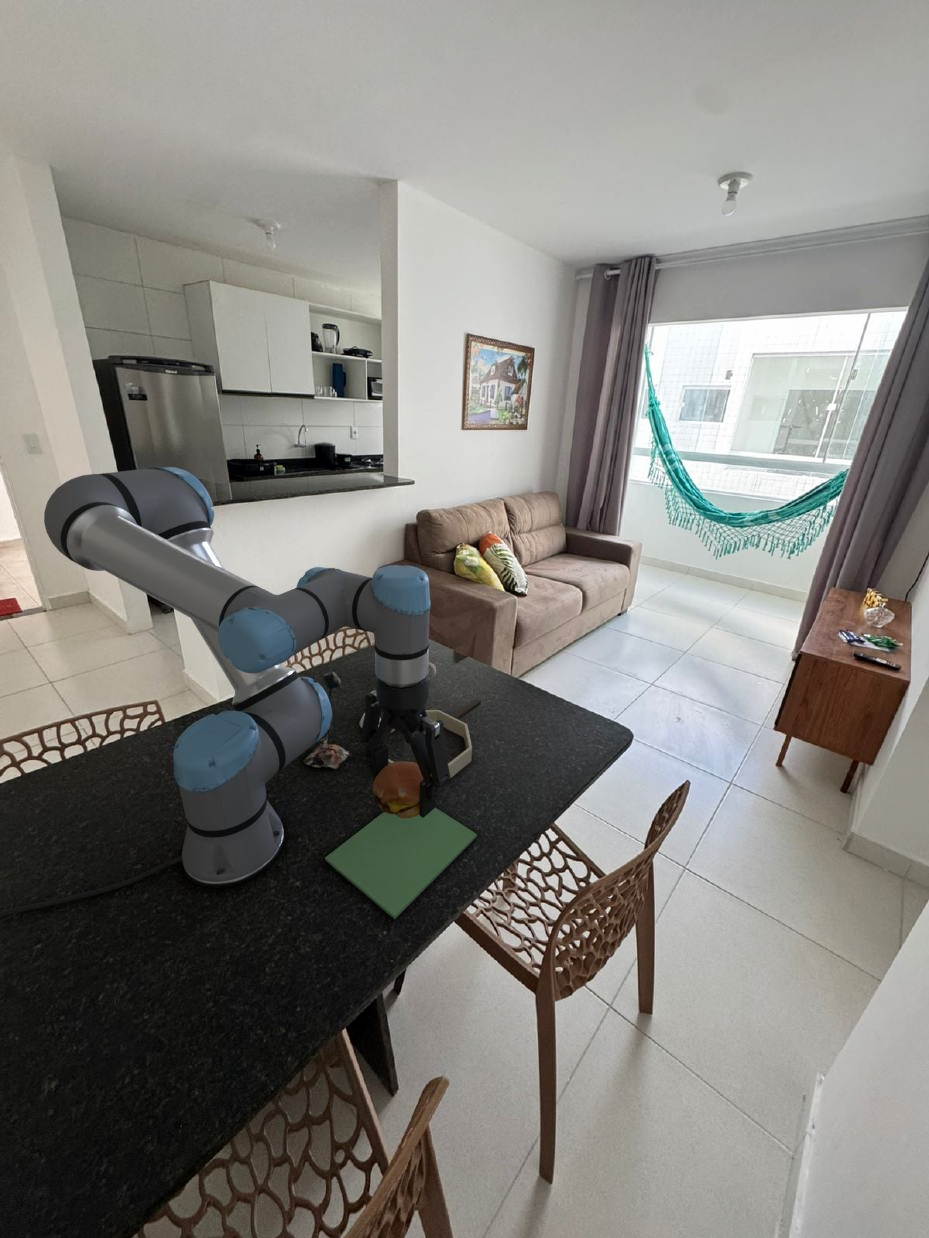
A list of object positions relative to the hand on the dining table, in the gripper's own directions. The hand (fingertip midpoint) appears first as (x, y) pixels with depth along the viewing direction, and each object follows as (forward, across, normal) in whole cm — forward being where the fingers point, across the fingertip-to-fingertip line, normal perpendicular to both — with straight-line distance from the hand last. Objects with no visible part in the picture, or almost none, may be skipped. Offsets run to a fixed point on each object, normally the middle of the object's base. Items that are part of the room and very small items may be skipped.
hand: (403, 796), depth 82 cm
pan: (+11, +15, -26) cm, 32 cm away
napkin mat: (+11, 0, 0) cm, 11 cm away
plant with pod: (+11, +29, -6) cm, 32 cm away
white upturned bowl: (+11, +30, -20) cm, 38 cm away
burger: (0, 0, 0) cm, 0 cm away
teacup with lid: (+11, +35, -40) cm, 54 cm away
